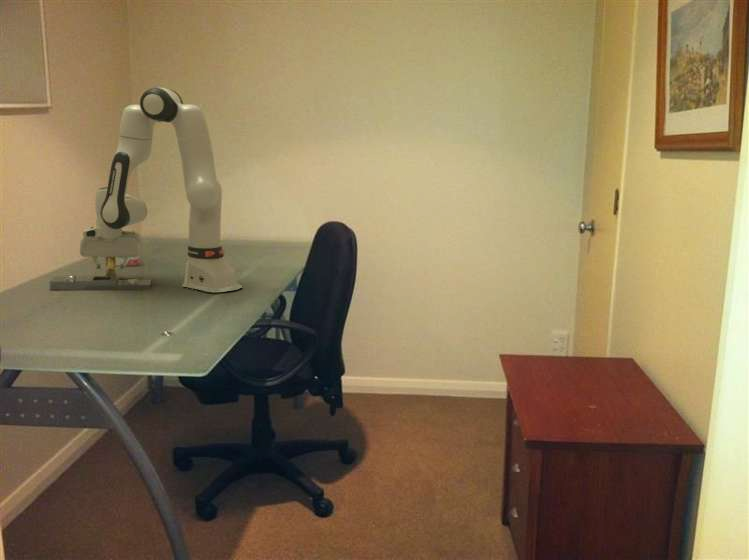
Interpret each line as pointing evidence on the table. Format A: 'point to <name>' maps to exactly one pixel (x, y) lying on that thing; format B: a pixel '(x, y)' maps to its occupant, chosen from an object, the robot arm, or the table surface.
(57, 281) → the latch strike plate
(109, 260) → the brass pin
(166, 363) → the table surface
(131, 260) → the ink box
